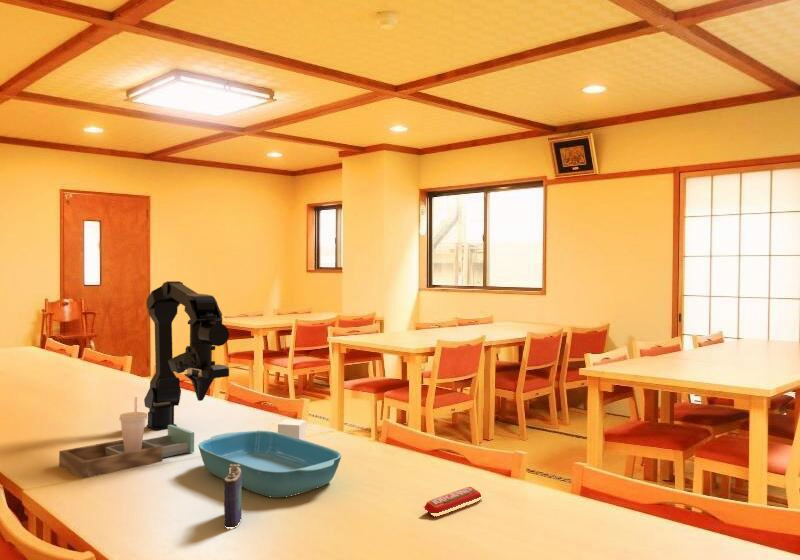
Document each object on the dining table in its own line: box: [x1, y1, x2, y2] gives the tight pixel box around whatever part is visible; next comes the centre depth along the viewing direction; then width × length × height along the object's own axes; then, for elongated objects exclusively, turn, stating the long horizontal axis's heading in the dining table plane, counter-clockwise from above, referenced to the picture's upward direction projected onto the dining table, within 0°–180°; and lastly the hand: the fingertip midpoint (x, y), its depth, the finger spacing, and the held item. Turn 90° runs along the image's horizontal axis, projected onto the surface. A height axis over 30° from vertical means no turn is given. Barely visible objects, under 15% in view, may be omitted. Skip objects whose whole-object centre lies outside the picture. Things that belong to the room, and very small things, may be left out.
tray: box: [105, 425, 195, 459], centre depth 168 cm, size 18×12×5 cm, turn 138°
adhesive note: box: [277, 418, 307, 441], centre depth 182 cm, size 6×6×6 cm
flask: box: [223, 464, 242, 527], centre depth 127 cm, size 9×3×11 cm, turn 8°
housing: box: [58, 438, 163, 479], centre depth 161 cm, size 19×13×4 cm
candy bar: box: [423, 486, 482, 514], centre depth 136 cm, size 16×4×3 cm, turn 135°
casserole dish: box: [197, 430, 342, 498], centre depth 153 cm, size 37×22×7 cm, turn 49°
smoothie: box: [119, 396, 148, 453], centre depth 165 cm, size 6×6×14 cm
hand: (200, 400), depth 179 cm, fingers closed
